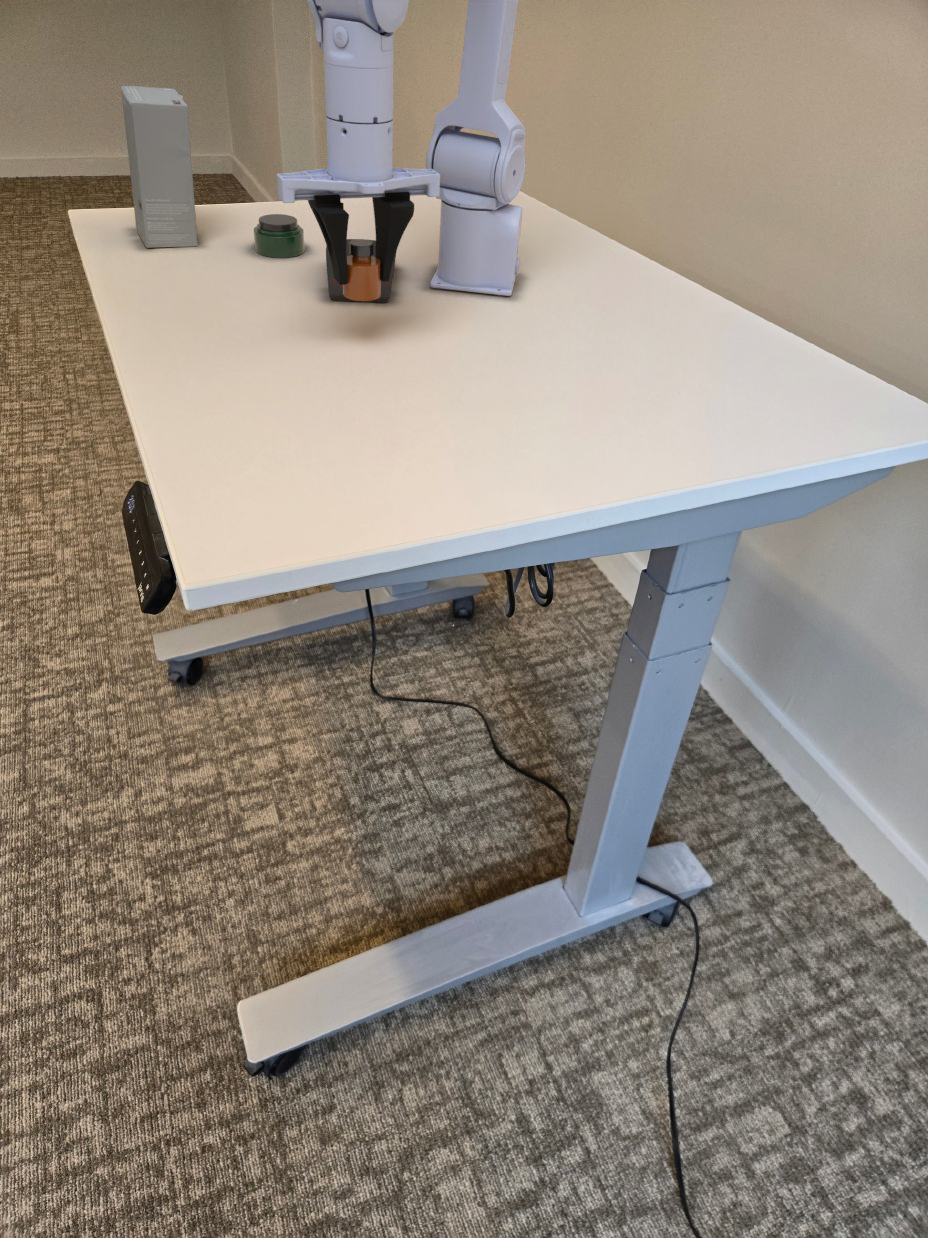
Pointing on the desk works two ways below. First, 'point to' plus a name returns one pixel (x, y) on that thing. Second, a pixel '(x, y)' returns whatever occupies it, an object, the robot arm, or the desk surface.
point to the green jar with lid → (278, 236)
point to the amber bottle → (362, 272)
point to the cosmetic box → (160, 166)
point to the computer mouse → (337, 289)
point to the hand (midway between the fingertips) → (361, 279)
